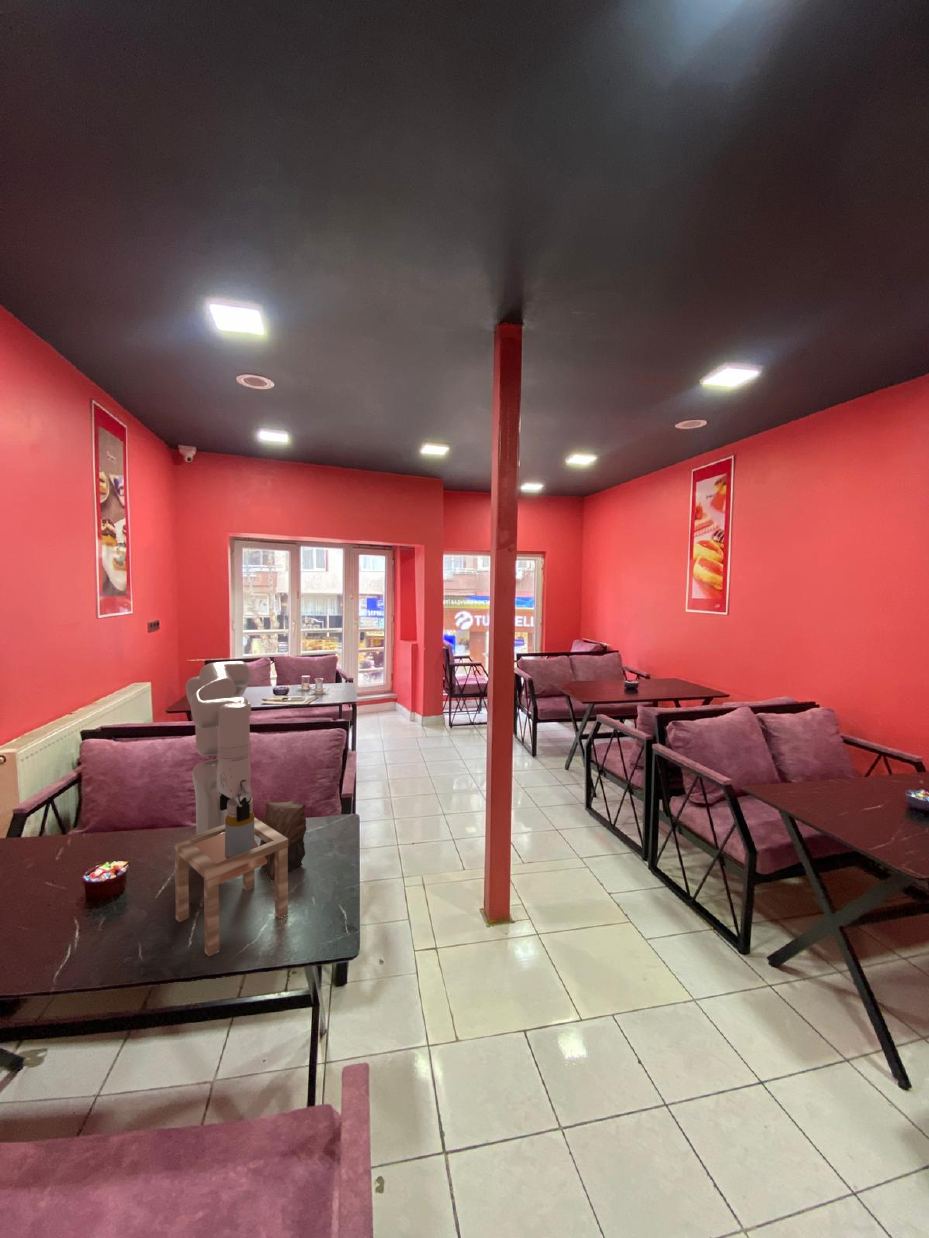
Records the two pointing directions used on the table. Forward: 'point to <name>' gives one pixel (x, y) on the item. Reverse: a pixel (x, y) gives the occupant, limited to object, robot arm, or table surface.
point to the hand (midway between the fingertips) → (234, 814)
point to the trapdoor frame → (211, 870)
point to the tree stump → (286, 832)
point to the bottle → (238, 831)
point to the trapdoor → (216, 853)
